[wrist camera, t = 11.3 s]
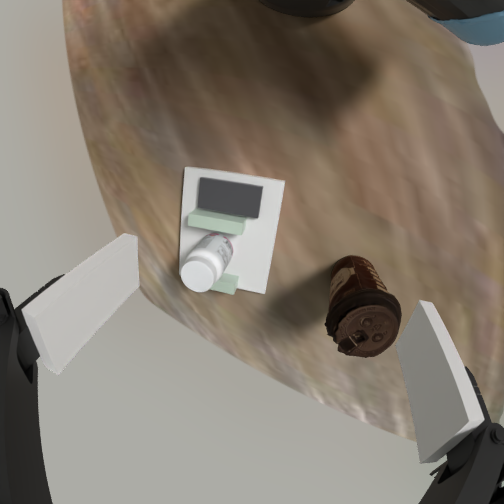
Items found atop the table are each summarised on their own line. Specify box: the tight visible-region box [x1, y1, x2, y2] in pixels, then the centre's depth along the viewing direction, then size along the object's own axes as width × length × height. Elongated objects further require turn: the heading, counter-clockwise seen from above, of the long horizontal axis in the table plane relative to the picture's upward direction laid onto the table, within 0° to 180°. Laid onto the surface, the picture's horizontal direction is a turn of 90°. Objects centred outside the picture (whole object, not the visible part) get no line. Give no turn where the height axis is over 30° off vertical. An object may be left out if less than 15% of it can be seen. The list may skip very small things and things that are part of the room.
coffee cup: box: [325, 255, 402, 358], centre depth 32 cm, size 9×8×13 cm
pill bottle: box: [181, 233, 233, 292], centre depth 35 cm, size 5×5×8 cm
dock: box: [179, 166, 285, 295], centre depth 37 cm, size 16×13×4 cm
